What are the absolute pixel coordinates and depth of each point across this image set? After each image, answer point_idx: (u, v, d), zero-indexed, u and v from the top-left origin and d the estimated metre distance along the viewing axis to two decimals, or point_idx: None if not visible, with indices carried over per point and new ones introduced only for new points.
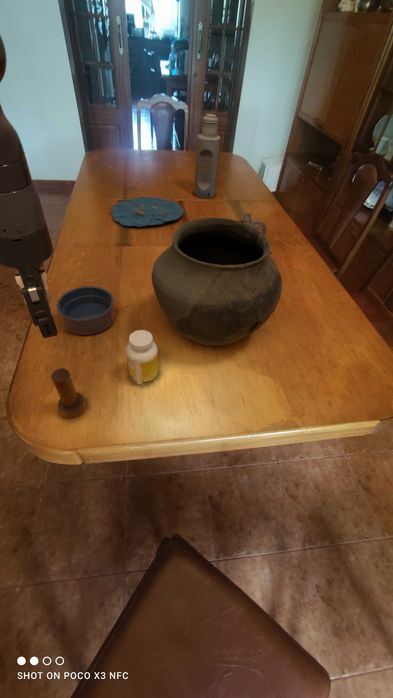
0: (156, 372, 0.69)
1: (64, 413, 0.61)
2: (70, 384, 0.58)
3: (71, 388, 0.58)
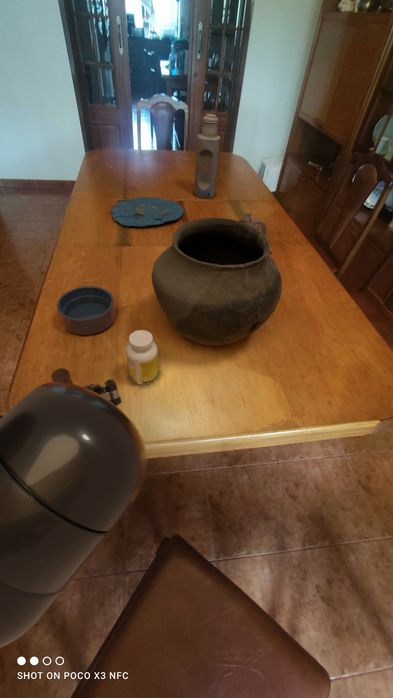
0: (156, 372, 0.69)
1: None
2: None
3: None
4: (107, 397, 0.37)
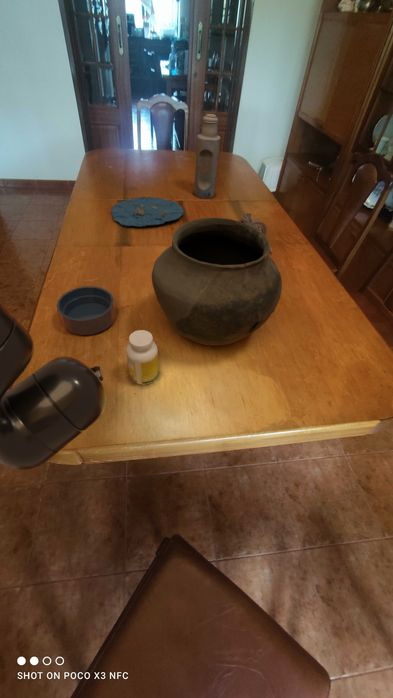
0: (156, 372, 0.69)
1: None
2: None
3: None
4: None
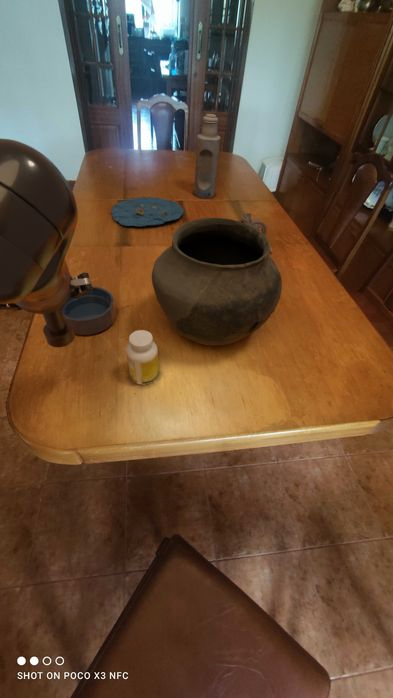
0: (156, 372, 0.69)
1: (50, 339, 0.54)
2: None
3: None
4: (82, 282, 0.46)
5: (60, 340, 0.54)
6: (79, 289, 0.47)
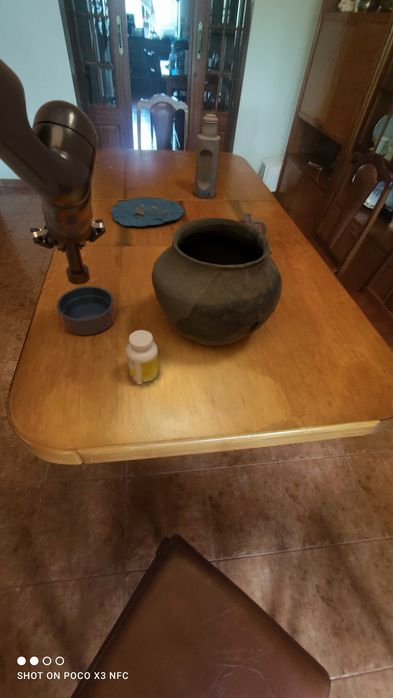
0: (156, 372, 0.69)
1: (71, 277, 0.69)
2: (77, 244, 0.66)
3: (78, 249, 0.67)
4: (98, 225, 0.61)
5: (79, 278, 0.70)
6: (96, 231, 0.62)
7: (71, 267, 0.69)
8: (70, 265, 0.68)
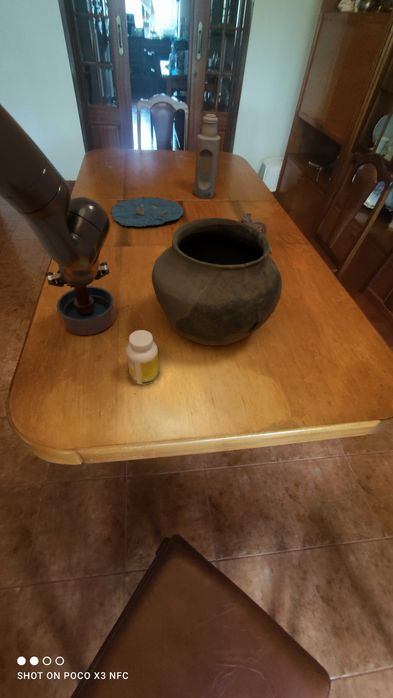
0: (156, 372, 0.69)
1: (78, 308, 0.79)
2: None
3: None
4: (103, 268, 0.71)
5: (85, 309, 0.80)
6: (101, 273, 0.72)
7: (78, 300, 0.79)
8: (78, 298, 0.78)
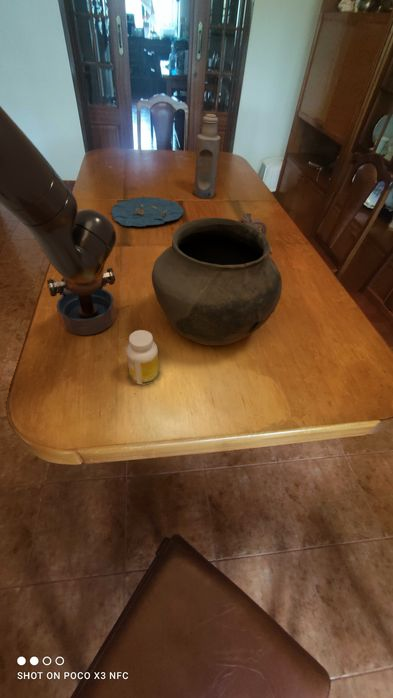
0: (156, 372, 0.69)
1: (83, 317, 0.79)
2: None
3: None
4: (107, 274, 0.70)
5: (90, 317, 0.80)
6: (107, 279, 0.71)
7: (83, 308, 0.79)
8: (82, 307, 0.78)
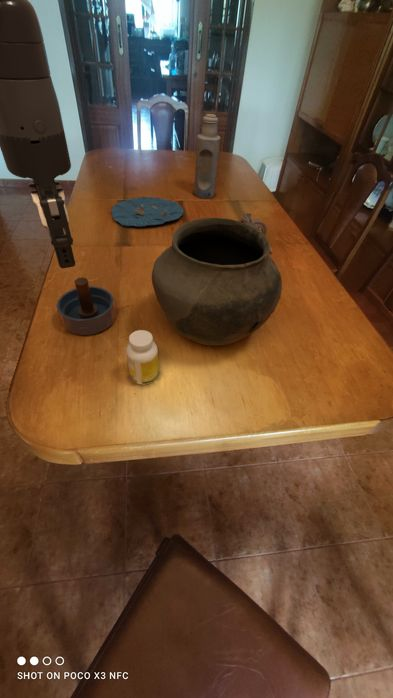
0: (156, 372, 0.69)
1: (83, 317, 0.79)
2: (88, 290, 0.76)
3: (89, 294, 0.76)
4: None
5: (90, 317, 0.80)
6: None
7: (83, 308, 0.79)
8: (82, 307, 0.78)
